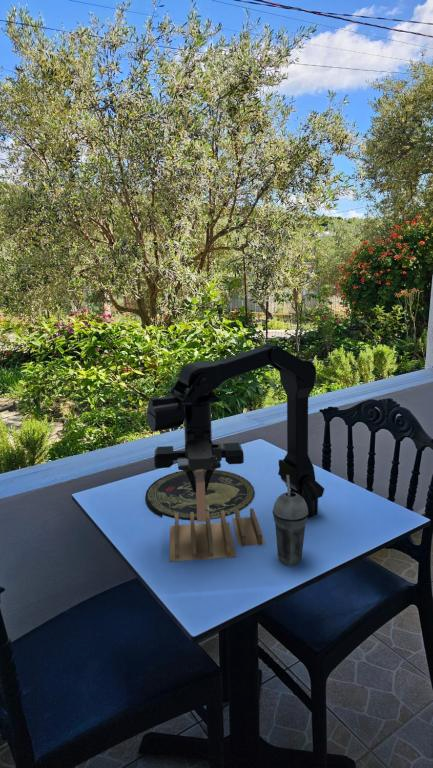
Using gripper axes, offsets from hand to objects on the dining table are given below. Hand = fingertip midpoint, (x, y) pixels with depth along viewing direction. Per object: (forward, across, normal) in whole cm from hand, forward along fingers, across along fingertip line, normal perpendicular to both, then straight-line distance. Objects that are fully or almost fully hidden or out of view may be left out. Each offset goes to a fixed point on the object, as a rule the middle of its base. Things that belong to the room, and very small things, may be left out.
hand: (200, 491), depth 102 cm
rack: (+13, 0, 0) cm, 13 cm away
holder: (+13, +11, +3) cm, 17 cm away
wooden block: (+5, 0, 0) cm, 5 cm away
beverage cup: (+13, +18, -9) cm, 24 cm away
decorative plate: (+13, +1, +24) cm, 27 cm away
